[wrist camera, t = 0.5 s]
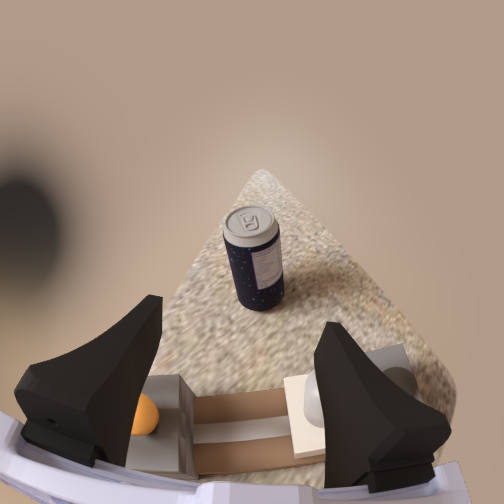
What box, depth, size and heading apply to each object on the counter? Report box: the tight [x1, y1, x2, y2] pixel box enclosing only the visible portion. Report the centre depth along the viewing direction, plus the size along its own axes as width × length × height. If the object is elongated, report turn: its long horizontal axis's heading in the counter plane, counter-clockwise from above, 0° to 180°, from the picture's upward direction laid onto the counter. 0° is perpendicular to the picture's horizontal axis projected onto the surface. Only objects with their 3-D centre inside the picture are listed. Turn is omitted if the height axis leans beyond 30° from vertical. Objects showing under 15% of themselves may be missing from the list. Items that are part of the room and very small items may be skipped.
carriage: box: [284, 369, 325, 459], centre depth 23 cm, size 7×6×8 cm
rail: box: [125, 343, 423, 479], centre depth 25 cm, size 9×26×6 cm, turn 95°
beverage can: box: [223, 205, 284, 311], centre depth 35 cm, size 6×6×12 cm
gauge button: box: [131, 393, 159, 436], centre depth 22 cm, size 4×4×3 cm
